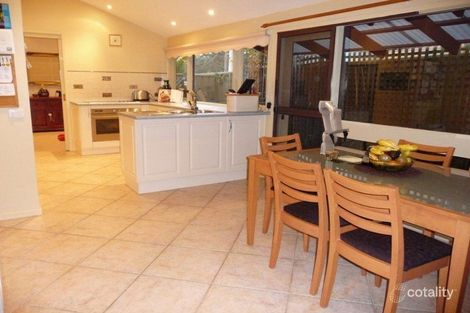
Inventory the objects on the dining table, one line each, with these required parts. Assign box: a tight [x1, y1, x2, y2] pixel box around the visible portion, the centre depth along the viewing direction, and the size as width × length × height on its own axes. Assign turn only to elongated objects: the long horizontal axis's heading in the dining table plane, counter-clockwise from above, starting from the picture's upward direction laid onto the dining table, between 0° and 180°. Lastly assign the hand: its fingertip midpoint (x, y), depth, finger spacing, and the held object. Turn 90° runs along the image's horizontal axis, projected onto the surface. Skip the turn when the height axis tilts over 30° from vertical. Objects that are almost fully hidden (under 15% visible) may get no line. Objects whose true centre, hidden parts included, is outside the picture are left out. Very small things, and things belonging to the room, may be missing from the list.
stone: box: [360, 145, 376, 164], centre depth 235 cm, size 14×10×15 cm
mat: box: [338, 155, 363, 164], centre depth 249 cm, size 18×16×1 cm
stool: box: [324, 150, 340, 162], centre depth 245 cm, size 8×5×6 cm, turn 120°
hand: (339, 143), depth 241 cm, fingers open, 7 cm apart
